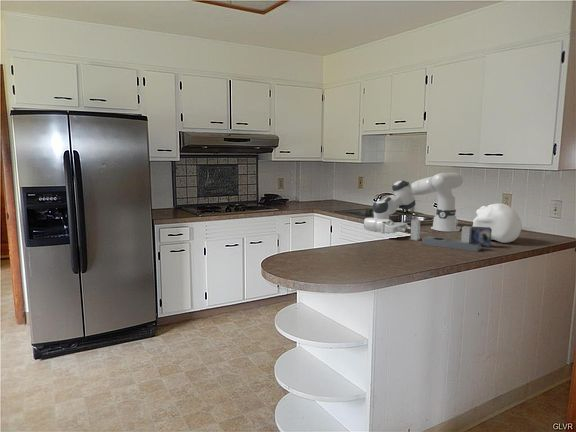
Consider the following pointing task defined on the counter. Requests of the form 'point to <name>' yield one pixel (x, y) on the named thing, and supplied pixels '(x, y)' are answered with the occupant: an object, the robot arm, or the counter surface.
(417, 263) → the counter surface
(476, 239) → the small box
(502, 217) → the head
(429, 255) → the counter surface
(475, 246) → the rail
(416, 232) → the clip
